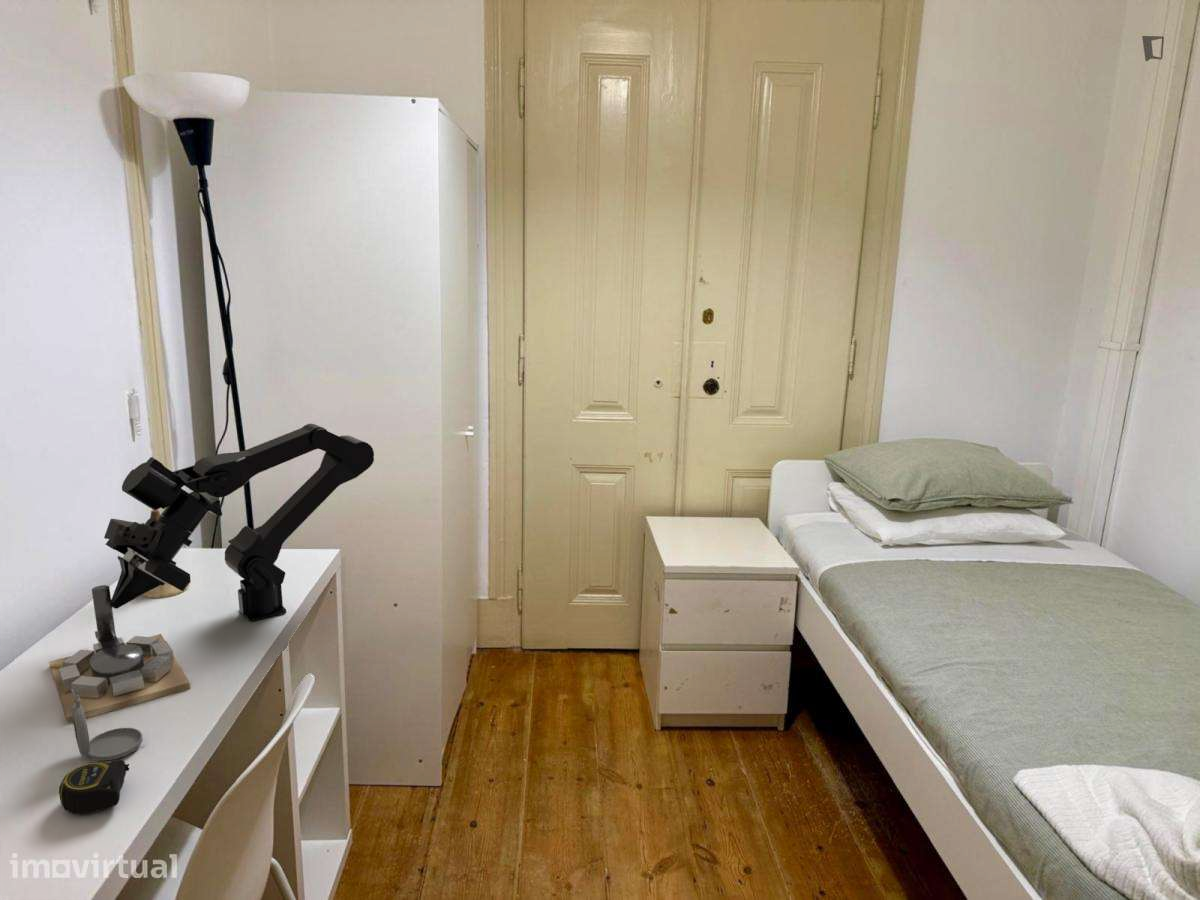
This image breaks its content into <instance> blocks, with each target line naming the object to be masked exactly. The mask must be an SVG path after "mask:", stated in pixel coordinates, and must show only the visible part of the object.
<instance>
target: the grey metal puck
mask: <svg viewBox="0 0 1200 900" xmlns="http://www.w3.org/2000/svg"><path fill="white" fill-rule="evenodd" d="M90 665H91V672H92V677H99V678H107V683H108V685H110V681H109V678H110V677H114V676H118V675H121V674H125V673H129V672H132V671H136V670H140V672H141V668H143V667H144V660H143V652H142V649H141V647H139V646H137V645H131V644H124V645H116V646H112V647H108V648H105V649H103V650H100V651H98V652H97V653H95V654H94V655H93V656H92V657H91V658H90ZM141 674H142V673H141Z"/></svg>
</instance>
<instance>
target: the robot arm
mask: <svg viewBox="0 0 1200 900" xmlns="http://www.w3.org/2000/svg"><path fill="white" fill-rule="evenodd" d="M315 450H321V451H323V452H325V453H324V454H323V458H322V459H321V463H320V466H319V468H318V469H317V470H316V471H315V472H313V474H312V475H310V477H309V478H308V479H307V480H306V481H305V482H304V483H303V484H302V485H301V486H300V487H299V488H298V489H297V490H296V491H295V492H294V493H293V494H292V495H291V496H290V497H289V498H288V499H287V500H286V501H285V502H284V503H283V504H282V505H281V506H280V507H279V508H278V509H277V510H276V511H275V512H274V513H273V514H272V515H271V516H270V517H269V518H268V519H267V520H266V521H265V522H264V523H263V524H262V525H260V526H257V527H255V528H253V529H252V528H251V527H249V526H248V525H245V526H244V527H242V528H241V529H240V531H239V532H238V533H237V534H236V535H235V536H234V537H233V538H231V539H229V540H228V541H227V542H228V544H229V545H228V546H227V548H226V549H225V551H224V561H225V564H226V565H227V567H228V568H229V569H230V570H231V571H233V572H234V573H235V574H237V576H239V577H240V578H242V579H241V580H239V584H240V585H239V587H240V588H239V589H237V597H238V598H237V599H238V608H239V612H240V613H241V614H242V615H243V616H245V618H246V619H247V620H248V621H249V622H255V621H258V620H261V619H262V620H263V619H266V618H270V617H274V616H279V615H282V614H285V613H287V609H286V608H285V606H284V605H283V603H284V602H283V592H282V584H283V583H284V580H285V577H286V572H285V571H284V570H282V569H281V568H280V567H279V566H277V565H276V564H275V563H276V562H277V560H278V559H279V556H280V554H281V553H280V552H281V550H282V547H283V545H284V543H286V541H287V539H288V538H290V537H291V535H292V534H293V533H294V532H295V531H297V529H298V528H299V527H300V526H302V524H304V523H305V521H306V520H307V519H308V518H309V517H310V516H311V515H312V514H313V513H314V512H315V511H316V510H317V509H318V508H319V507H320V506H321V505H322V504H323V503H324V501H326V500H327V498H329V497H330V495H331V494H332V493H333V492H334V491H335V490H336V489H337V488H338V487H340V486H342V484H345V483H348V482H350V481H353V480H355V479H357V478H358V477H359V476H361V475H362V474H364V472H366V471H367V470H368V469H370V468H371V466H372V465H373V464H374V461H375V458H374V457H375V451H374V449H373V447H372V445H371V444H370V443H368V442H367V441H363V440H361V439H359V438H357V437H354V436H352V435H340V436H339V435H336V434H335V433H333V432H330V431H329V430H327V428H325V427H323V426H320V425H318V424H315V423H307V424H305V425H303V426H302V427H301V428H297V429H295V430H293V431H290V432H288V433H285V434H283V435H281V436H278V437H274V438H273V439H270V440H267V441H265V442H263V443H260V444H257V445H255V446H252V447H249V448H248V449H247V448H246V449H245V450H240V451H237V452H224V453H219V454H213V455H209V456H204V457H202V458H200V459H199V460H197V461H196V462H195V463H194V465H191V466H187V467H184V468H181V469H177V470H174V471H171V470H170V469H169V468H168V467H166V466H165V465H164V463H162V462H160V460H157V459H156V458H154V457H153V456H151V457H149V458H148V459H147V461H146V462H143V463H141V464H139V465H138V466H136V467H135V468H133V469H131V471H130V472H129V473H128V474H127V475H126V477H125V479H124V480H123V482H122V485H121V490H122V492H124V493H125V494H127V495H128V496H130V497H132V498H134V499H135V500H136V501H138V502H140V503H142V504H143V505H144V506H146V507H148V508H149V509H151V510H159V509H162V510H163V511H162V512H161V513H160V514H161V515H160V516H159V517H158V519H157V520H156V519H154V518H151V519H150V518H148V519H147V521H146V522H145V523H144V522H142V523H140V522H137V521H128V520H124V519H123V520H122V519H117V518H110V520H109V522H108V525H107V529H106V530H105V534H104V536H103V537H104V539H105V540H107V542H106V543H105V545H106V546H107V547H109V548H111V549H112V550H114V551H116V552H117V553H120V554H122V555H123V556H119V555H117V560H118V562H119V565H120V569H121V571H120V574H119V579H118V580H117V584H116V586H115V589H114V591H113V594H112V596H111V603H112V609H115V610H118V609H119V608H121V607H123V606H125V605H126V604H128V603H130V602H132V601H133V600H135V599H137V598H138V597H140V596H143V595H142V594H144V593H146V592H148V591H150V590H152V589H154V588H156V587H158V586H160V585H162V586H163V585H164V584H165V583H164V582H162V580H163V581H165V582H167V583H168V584H170V585H172V586H174V587H176V588H177V589H179V590H181V591H184V590H185V589H186V587H187V586H188V585H189V586H190V584H191V574H190V573H189V572H187V571H185V570H184V569H182V568H180V567H179V566H177V562H176V561H175V560H174V558H175V557H176V556H177V554H178V553H179V552H180V550H181V549H182V548H183V546H184V545H185V546H186V547H190V546H191V544H192V543H193V540H191V539H189V538H190V537H191V535H192V534H193V533H194V532H195V531H196V529H197V528H198V526H199V525H200V524H201V522H202V521H203V520H204V519H205V517H206V516H207V515H208V513H210V514H212V515H215V516H216V517H219V518H220V517H222V516H223V512H222V508H221V500H219V499H217V498H223V497H228V496H229V495H231V494H233V493H234V492H236V491H237V490H239V489H241V488H242V487H244V486H245V485H246V484H247V483H248V482H249V481H250V480H251V479H252V478H253V477H255V476H256V475H259V474H260V473H263V472H265V471H267V470H269V469H272V468H274V467H277V466H279V465H282V464H283V463H286V462H289V461H292V460H294V459H296V458H298V457H301V456H302V455H303V456H304V455H306V454H308V453H310V452H313V451H315ZM183 487H186V488H188V489H189V490H190V491H191V492H188V491H187V490H185V489H183ZM202 493H203V494H205V493H206V494H208V495H209V496H211V497H212V498H208V497H206V496H205V495H203V494H202ZM213 497H214V498H213ZM173 560H174V561H175V562H174V561H173ZM175 564H176V566H175ZM184 592H185V591H184Z"/></svg>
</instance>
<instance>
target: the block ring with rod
mask: <svg viewBox="0 0 1200 900" xmlns="http://www.w3.org/2000/svg"><path fill="white" fill-rule="evenodd" d="M110 590H111V588H110V585H107V584H106V585H105V584H104V585H102V584H101V585H97V586H94V587H92V589H91V595H92V601H93V609H94V615H95V616H94V617H95V622H96V631H94V635H95V638H96V640H97V643H93V644H92V648H93V650H94V651H93V650H91V649H90V650H89V649H79V650H78V651H77V652H74V654H73V655H70V656H71V657H69V656H68V657H69V658H68V659H67V660H65V661H64V662H62V663H63V668H60V669H59V675H60V681H61V684H62V686H63V689H64V692H68V691H71V689H73V690H74V692H75V693H76V695H79V697H90V698H100V697H101V696H102V695H103V694H104V693H106V692H107V691H108V683H107V678H99V677H88V676H81V677H80V673H82V672H83V671H84V670H86V669H87V668H88V667H90V666H91V665H90V658H91V657H92V656H93V655H94V654H95V653H97V652H98V651H100V650H103V649H105V648H108V647H112V646H116V645H124V643H126V644H131V645H137V646H139V647H141V649H142V652H143V655H149V656H152V655H153V658H154V659H152V660H151V661H150V662H149V663H147V664H146V665H145V666H144V667H143V668H141V672H140V670H136V671H132V672H129V673H125V674H121V675H118V676H114V677H110V678H109V681H110V688H111V692H112V694H113V696H117V695H121V694H124V693H128V692H131V691H135V690H138V689H142V688H144V683H143V681H152V682H157V681H158V680H159V679H160V678H161V677H162V676H164V675H165V674H166V673H167V672H168V671H169V670H171V669H172V666H171V663H173V662H174V657H175V656H174V657H173V655H174V650H173V649H172V647H171V646H170V645H169V643H168V641H167V640H165V641H164V642H160V643H159V638H155V637H150V636H143V635H142V636H139V635H134V636H133V637H131V638H130V639H128V640H127V641H126V642H125V640H124V639H123V637H118V636H117V634H116V628H115V627H116V626H115V621H114V620H115V619H114V612H113V607H112V603H111V599H112V595H111V591H110ZM141 673H142V674H141Z"/></svg>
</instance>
